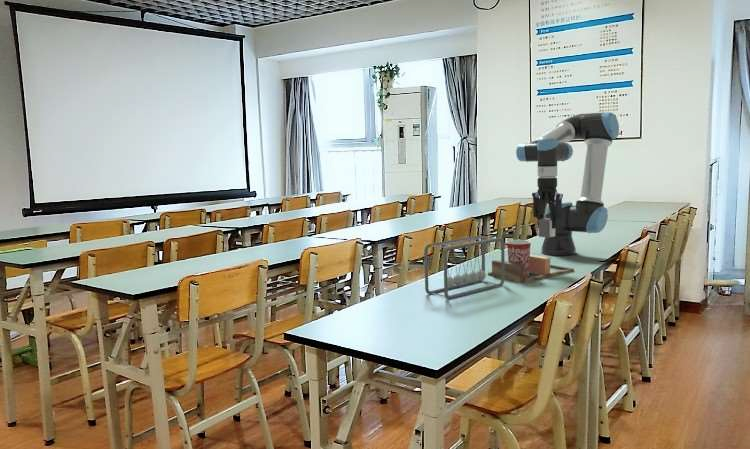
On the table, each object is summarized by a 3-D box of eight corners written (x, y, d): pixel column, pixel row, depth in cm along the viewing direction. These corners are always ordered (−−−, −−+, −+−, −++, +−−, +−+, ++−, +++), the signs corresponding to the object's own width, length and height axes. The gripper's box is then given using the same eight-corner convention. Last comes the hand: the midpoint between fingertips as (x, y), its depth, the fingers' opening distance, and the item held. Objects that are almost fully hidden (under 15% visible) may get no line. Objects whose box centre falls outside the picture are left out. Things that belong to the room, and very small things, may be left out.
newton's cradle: (446, 300, 197) (445, 247, 195) (424, 295, 205) (423, 244, 203) (505, 285, 215) (505, 237, 213) (483, 281, 224) (482, 234, 221)
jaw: (521, 268, 241) (521, 252, 240) (550, 274, 229) (550, 257, 229) (516, 270, 239) (516, 254, 238) (545, 275, 228) (545, 258, 227)
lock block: (538, 236, 238) (538, 219, 237) (546, 235, 240) (546, 218, 239) (547, 237, 234) (547, 220, 233) (555, 236, 237) (555, 219, 236)
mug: (524, 280, 223) (524, 244, 221) (502, 277, 229) (502, 242, 227) (539, 273, 232) (539, 239, 230) (518, 271, 238) (518, 238, 236)
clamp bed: (537, 264, 249) (537, 250, 249) (573, 271, 234) (573, 256, 234) (488, 275, 233) (487, 260, 232) (524, 282, 218) (524, 266, 217)
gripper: (523, 177, 239) (523, 234, 242) (559, 178, 225) (559, 239, 228) (535, 176, 244) (535, 232, 246) (572, 177, 229) (571, 237, 232)
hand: (546, 235), depth 237 cm, fingers closed on lock block, 4 cm apart
